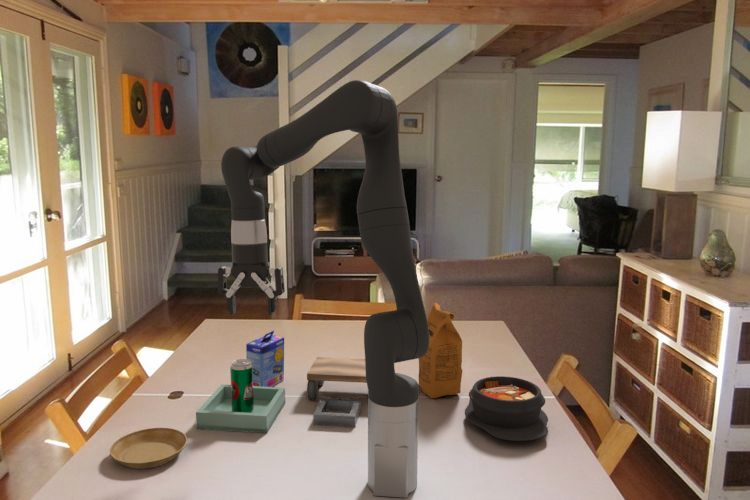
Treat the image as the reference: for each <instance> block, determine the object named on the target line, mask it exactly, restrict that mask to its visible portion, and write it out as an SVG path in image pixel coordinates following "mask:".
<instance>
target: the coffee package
mask: <svg viewBox="0 0 750 500" xmlns="http://www.w3.org/2000/svg"><path fill="white" fill-rule="evenodd" d="M453 319H455V315H454V313H452V312H448V311H445V310H444V311H443V310H441V306H440V304H438V302H434V303H433V304H432V307H431V309H430V311H429V313H428V316H427V322H428V328H429V347H428V351H427V353H426V354H425V355H424V356H423V357H421V358H418V386H420V387H419V388H420V389H421V391H422V393H423V394H424V395H426V396H428V397H429V398H430V399H437V398H440V397H444V396H455V395H459V394H461V393H462V392H461V390H462V389H461V386H462V377H463V367H462V362H463V339H462V337H461V335H460V333H459V332H458V330H457V329H456V327H455V326H454V324H453V322H452V320H453Z"/></svg>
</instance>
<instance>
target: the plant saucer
mask: <svg viewBox="0 0 750 500" xmlns="http://www.w3.org/2000/svg"><path fill="white" fill-rule="evenodd" d="M187 442H188V438H187V436H186V434H185V433H184V432H182V431H181V430H179V429H175V428H171V427H152V428H149V427H148V428H144V429H139V430H137V431H132V432H131V433H127V434H125V435H123V436H122V437H120V438H118V439H117V440H115V441H114V442H113V443H112V445H110V449H109V453H110V456H111V457H112V458H113V459H114V460H115V461H116V462H117V463H119V464H121V465H123V466H125V467H127V468H130V469H136V470H143V469H144V470H145V469H152V468H156V467H160V466H163V465H165V464H168V463H169V462H171V461H172V460H173V459H175V458H176V457H177V456H178V455H179V454H180V453H181V452H182V450H184V448H185V446H186V445H187Z"/></svg>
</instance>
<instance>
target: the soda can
mask: <svg viewBox="0 0 750 500" xmlns="http://www.w3.org/2000/svg"><path fill="white" fill-rule="evenodd" d="M230 385H231V405H232V412H244V413H251V412H252V411H253V409H254V393H253V365H252V364H251V361H250V360H247V359H246V358H239V359H235V360H232V362H231V365H230Z"/></svg>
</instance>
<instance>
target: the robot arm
mask: <svg viewBox="0 0 750 500" xmlns="http://www.w3.org/2000/svg"><path fill="white" fill-rule="evenodd" d="M398 117H399V116H398V107H397V103H396V100H395V98H394V97H393V94H392V93H390V91H388V90H387V89H386V88H384V87H383V86H379V85H377V84H375V83H374V84H373V83H372V82H369V81H366V80H360V79H353V80H351V81H348V82H346V83H344V84H343V85H341V86H340V87H338V88H337V89H336V90H334V91H333V92H332V93H330V94H329V95H328V96H326V98H324V99H323V100H321V101H320V102H318V103H317V104H315V105H314V106H313V107H312V108H310V109H309V110H308V111H306V112H304V114H302V115H301V116H299V117H297V118H296V119H294V120H292V121H291V122H289V123H287V124H284V125H283V126H280V127H278V128H276V129H274V130H273V131H270V132H269V133H266V134H265V135H263V136H262V137H260V139H259V140H258V141H257V144H256V145H254V146H241V145H240V146H235V145H234V146H230V147H229V148H227V149H226V150H225V151H224V153H223V154H222V157H221V163H220V166H221V167H220V169H221V174H222V176H223V178H222V179H223V180H224V184H225V186H226V190H227V193H228V197H229V200H230V209H231V210H230V211H231V226H230V237H231V238H230V239H231V243H230V244H231V261H232V265H231V267H228V266H226V265H223V266H220V267H218V269H217V294H218V295H220V296H225V297H226V305H227V307H226V308H227V311H228V313H230V315H235V314H236V313H237V298H236V295H235V294H236V293H237V291H238V290H239V289H240V288H241V287H242V288H249V287H250V288H258V287H259V288H260V289H261V290H262V291H263V292H264V293H265V294H266V295H267V297H268V298H267V313H268V316H272V315H274V314H275V312H276V311H277V308H278V307H277V297H279V296H280V297H281V296H282V295H283V294H284V293H285V291H286V290H285V279H284V269H283V267H282V266H281V265H280V266H277V267H270V266H269V261H268V258H269V256H268V234H267V233H268V232H267V231H268V230H267V225H266V217H265V216H266V213H265V211H266V210H265V209H266V208H265V197H264V195H263V194H262V193H261V192H259V191H257V190H256V191H255V190H254V189H253V188H252V185H251V182H250V181H251V180H252V181H253V180H254V181H255V180H260V179H263V178H265V177H267V176H270V175H271V174H273V173H274V172H275V171H277V170H278V169H279V168H280V167H283V166H284V165H287V164H289V163H292V162H294V161H296V160H298V159H300V158H303V156H305V155H307V154H308V153H309V152H311V150H312V149H314V146H315V145H317V143H318V142H319V141H320V140H322V139H324V138H325V137H327V136H330V135H332V134H336V133H340V132H344V131H351V132H355V133H358V134H360V135H361V139H362V145H363V151H364V156H365V157H364V158H365V168H364V174H363V179H362V181H361V184H360V188H359V190H358V195H357V199H356V200H357V201H356V214H357V222H358V229H359V230H358V231H359V235H360V241H361V244H362V245H363V247H364V250H365V251H366V252H367V254H368V255H369V256H370V258H371V259H372V261H373V262H374V263H375V265H376V266H377V267H378V268H379V269H380V270H381V272H382V274H383V275H384V276H385V277H386V279H387V281H388V283H389V285H390V287H391V290H392V294H393V297H394V301H395V306H396V309H395V310H389V311H381V312H376V313H372V314H371V315H369V316H368V317H367V319H366V322H365V324H364V329H363V331H364V332H363V345H364V359H365V369H366V381H367V383H366V386H367V392H368V393H367V395H368V396H367V399H368V400H367V401H368V402H367V408H368V409H367V486H368V487H369V489H371V491H372V492H373V496H376V497H377V496H378V497H389V498H390V497H391V498H403V499H404V498H405V499H406V498H408V497H409V495H410V494H411V493H413V492H414V491H415V490H416V488H417V486H418V459H419V457H418V455H419V451H418V447H419V402H420V399H419V397H420V396H419V395H420V387H419V386H420V385H419V382H418V381H417V380H416V379H415V378H413V377H411V376H409V375H407V374H403V373H400V372H395V364H396V363H401V362H405V361H407V362H408V361H412V360H418V359H419V358H421V357H423V356H424V355H425V354H426V353H427V351H428V347H429V328H428V322H427V319H428V316H427V314H426V309H425V305H424V301H423V296H422V293H421V289H420V285H419V284H420V283H419V279H418V275H417V270H416V268H417V267H416V263H415V257H414V251H413V250H414V249H413V245H412V235H411V226H410V218H409V213H408V207H407V206H408V205H407V201H406V196H405V189H404V188H405V187H404V180H403V173H402V172H403V171H402V165H401V158H400V147H399V146H400V145H399V144H400V143H399V141H400V140H399V120H398V119H399V118H398ZM230 274H231V275H232V277H233V278H234V279H235V280H234V282H233V283H232V285H230V287H229V288H228V277H230ZM270 274H271V275H272V278H274V281H275V288H274V287H273V285H272V283H271V282H270V281H269V279H268V276H269V275H270Z"/></svg>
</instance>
